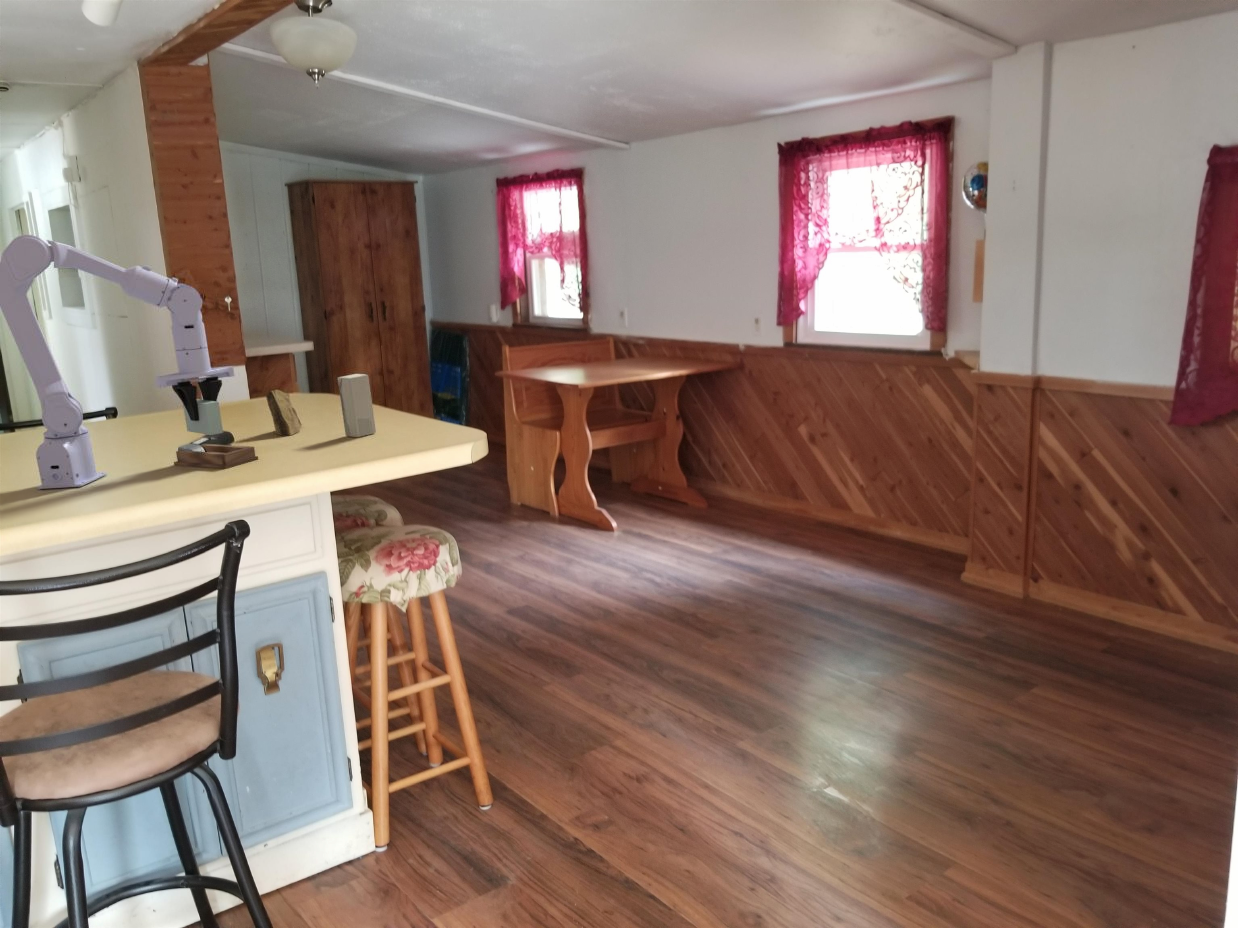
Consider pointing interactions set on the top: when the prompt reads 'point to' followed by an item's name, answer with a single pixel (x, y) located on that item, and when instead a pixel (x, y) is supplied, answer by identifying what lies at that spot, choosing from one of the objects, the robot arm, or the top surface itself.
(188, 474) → the top surface
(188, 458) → the floor track
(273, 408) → the rock
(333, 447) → the top surface
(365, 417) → the box
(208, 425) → the pale teal block
